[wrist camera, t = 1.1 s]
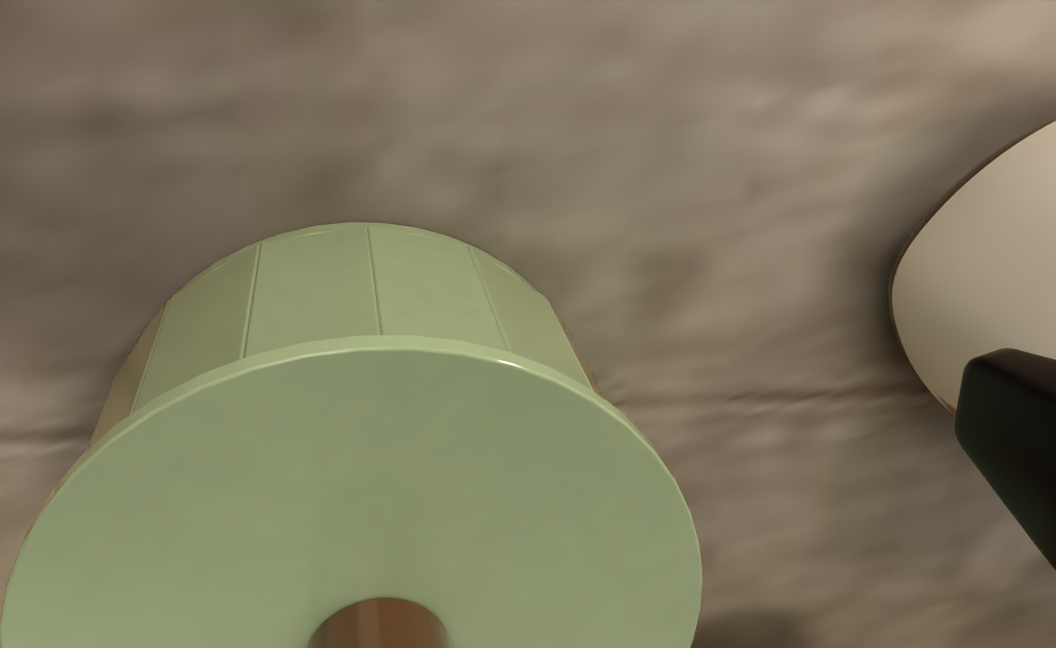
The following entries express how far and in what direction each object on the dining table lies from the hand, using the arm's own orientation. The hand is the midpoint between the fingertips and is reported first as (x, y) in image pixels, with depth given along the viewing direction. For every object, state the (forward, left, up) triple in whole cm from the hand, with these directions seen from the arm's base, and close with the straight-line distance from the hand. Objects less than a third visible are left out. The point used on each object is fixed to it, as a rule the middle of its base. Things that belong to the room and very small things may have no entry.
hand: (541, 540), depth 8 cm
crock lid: (-4, +7, -7) cm, 11 cm away
